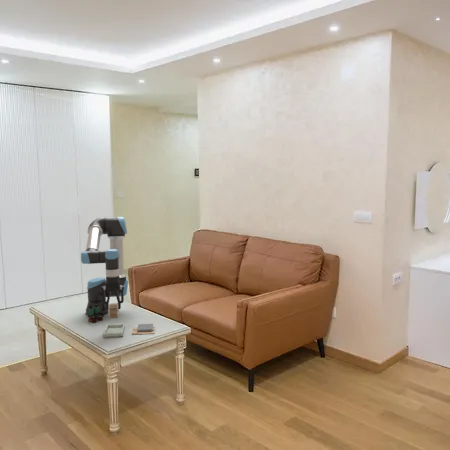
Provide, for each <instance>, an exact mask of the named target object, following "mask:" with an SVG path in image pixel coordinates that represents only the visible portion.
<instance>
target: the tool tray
mask: <svg viewBox="0 0 450 450" xmlns="http://www.w3.org/2000/svg"><path fill="white" fill-rule="evenodd" d="M125 330H126V323H115V324H112V323H111V324H106V325H105V328H104V330H103V333H102V338H104V339H106V338H123V336H124V332H125Z"/></svg>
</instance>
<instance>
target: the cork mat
mask: <svg viewBox="0 0 450 450" xmlns="http://www.w3.org/2000/svg"><path fill="white" fill-rule="evenodd" d="M137 328H138V326H137V327H133V328H132V331H131V335H132V336H133V335H134V336H135V335H137V334H139V335H154V334H155V329H156V328H155V326H153V331H146V332H137ZM137 336H138V335H137Z"/></svg>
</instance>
